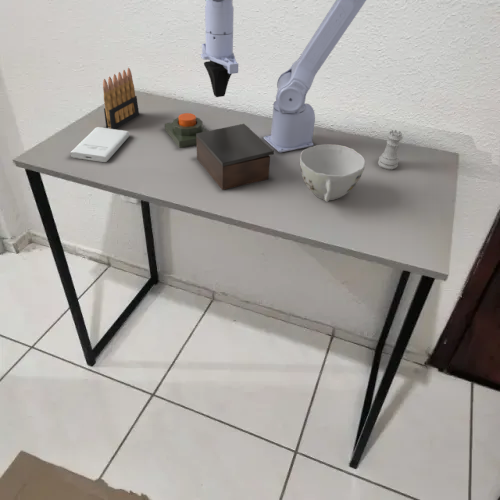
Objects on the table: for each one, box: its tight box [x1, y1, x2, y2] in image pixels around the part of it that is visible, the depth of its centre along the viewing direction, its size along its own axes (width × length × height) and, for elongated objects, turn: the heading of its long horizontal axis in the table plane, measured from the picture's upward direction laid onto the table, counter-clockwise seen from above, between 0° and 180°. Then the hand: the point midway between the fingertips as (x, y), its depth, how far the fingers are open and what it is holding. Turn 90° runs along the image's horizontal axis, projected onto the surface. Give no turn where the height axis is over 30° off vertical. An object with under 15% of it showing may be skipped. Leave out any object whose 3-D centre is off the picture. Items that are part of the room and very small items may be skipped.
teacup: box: [299, 143, 366, 203], centre depth 92 cm, size 15×12×8 cm
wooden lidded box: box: [196, 137, 271, 191], centre depth 99 cm, size 11×14×5 cm
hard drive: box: [69, 126, 130, 163], centre depth 105 cm, size 2×8×12 cm
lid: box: [196, 123, 275, 166], centre depth 97 cm, size 11×14×1 cm
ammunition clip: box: [102, 67, 140, 130], centre depth 112 cm, size 11×2×12 cm, turn 154°
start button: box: [178, 112, 197, 127], centre depth 109 cm, size 4×4×2 cm
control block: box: [164, 116, 208, 149], centre depth 111 cm, size 10×8×4 cm
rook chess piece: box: [377, 129, 403, 171], centre depth 103 cm, size 4×4×8 cm
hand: (219, 95), depth 105 cm, fingers closed
